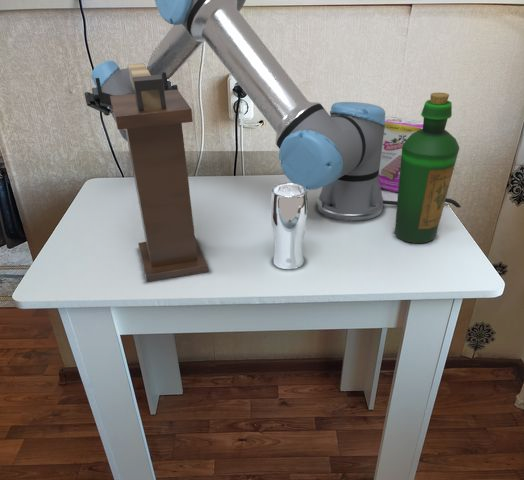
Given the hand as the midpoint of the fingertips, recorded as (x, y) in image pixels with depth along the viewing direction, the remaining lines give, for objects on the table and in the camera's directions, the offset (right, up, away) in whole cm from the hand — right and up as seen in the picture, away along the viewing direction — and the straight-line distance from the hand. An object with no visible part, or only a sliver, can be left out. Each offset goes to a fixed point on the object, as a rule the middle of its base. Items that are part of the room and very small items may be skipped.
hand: (132, 82), depth 106 cm
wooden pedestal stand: (+8, -37, -1) cm, 38 cm away
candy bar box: (+60, -14, +25) cm, 67 cm away
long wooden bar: (+6, -10, -16) cm, 20 cm away
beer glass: (+32, -38, -2) cm, 50 cm away
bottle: (+60, -31, +5) cm, 67 cm away
